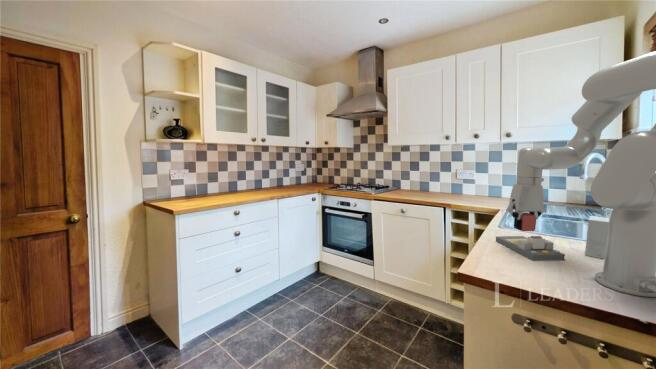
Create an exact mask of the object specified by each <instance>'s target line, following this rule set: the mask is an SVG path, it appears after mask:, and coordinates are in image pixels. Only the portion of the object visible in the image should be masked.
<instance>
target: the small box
mask: <svg viewBox="0 0 656 369" xmlns="http://www.w3.org/2000/svg"><path fill="white" fill-rule="evenodd" d="M609 219H610V217H604V216H603V217H601V216H595V215H590V216H589V218H588V221H587V222H588V223H587V232H586V242H585V243H586V244H585V251H584V252H585V253H584V256H587V257H593V258H597V259H602V260H605V251H606V242H607V234H608V226H609Z"/></svg>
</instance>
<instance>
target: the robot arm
mask: <svg viewBox="0 0 656 369" xmlns="http://www.w3.org/2000/svg"><path fill="white" fill-rule="evenodd" d="M653 90H656V50H655V51H651V52H647V53H645V54H642V55H639V56H637V57H633V58H632V59H628V60H625V61H622V62H619V63H616V64H613V65H611V66H608V67H606V68H603V69H601V70H598V71H596V72H594V73H593V74H591V76H589V77H588V78H587V79H586V80H585V81H584V83H583V84H582V88H581V95H582V98H583V99H584V100H586V101H584V103H583V104H582V105H581V106H580V107H579V108H578V110H576V111H575V113H573V115H572V116H571V122H572V124H573V125H574V126H575V127H576V128H577V129H576V133H575V134H574V136H573V137H572V138H571V139H570V140H569V141H568V142H567V144H565V145H564V146H552V147H551V146H550V147H523V148H521V149H519V151H518V158H517V159H518V160H517V170H516V179H515V180H516V181H515V184H513V185H512V188H511V192H510V196H509V204H508V207H507V209H506V212H507V213H508V214H510V216H512V218H514V219H513V228H514V229H516V230H518V231H521V228H522V220H521V217H522V214H523V213H530V214H533V215H536V222H535V227H536V225H537V220H538V219H539V217H540V216H541V215H542V214H544V213H546V211H547V209H546V207H545V206H544V202H545V201H544V198H545V196H544V195H545V194H544V188H543V185H542V182H544V181H545V179H544V178H543V170H545V171H547V170H550V171H551V170H565V169H570V168H573V167H576V166H577V165H578V164H580V163H581V162H582V161H584V159H585V158H587V157H588V156H589V155H590V154H591V153H592V152H594V150H595V148H596V147H597V145H598V143H599V141H600V139H601V136H602V132H603V131H604V130H605V129H606V128H607V127H608V126H609V125H610V124H611V123H612V122H614V120H615V119H616V118H617V117H619V115H621V114H622V113H623V112H624V111H625V110H626V109H627V108H628V107H629V106H630V105H631V104H632V103H634V102H635V101H636V100H637V98H639V97H640V96H641V95H642V93H644V92H648V91H653ZM590 196H591V197H592V200H593V201H594V202H595V203H596V204H597V205H599V207H600V206H601V207H603V208H604V209H605V208H606V209H609V210H612V211H611V212H610V216H609V218H610V219H609V226H608V234H607V242H606V251H605V259H603V260H604V261H603V270H602V271H598V272H597V273H596V272H595V274H594V279H595V281H596V282H598V283H599V284H601V285H603V286H605V287H607V288H609V289H612V290H615V291H618V292H621V293H625V294H629V295H632V296H638V297H639V296H640V297H645V298H646V297H647V298H656V123H655V124H654V125H653V126H652V127H651V129H650V130H641V131H635V132H633V133H630V134H627V135H626V136H624V137H622V138H621V139H619V141H618V142H617V143H615V145H613V147H612V148H611V150H610V152H609V153H608V155H607V156H606V158H605V160H604V162H603V163H602V165H601V166H600V168H599V170H598V172H597V173H596V175H595V176H594V178H593V181H592V183H591V186H590Z"/></svg>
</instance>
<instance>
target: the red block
mask: <svg viewBox="0 0 656 369" xmlns="http://www.w3.org/2000/svg"><path fill="white" fill-rule="evenodd" d="M521 220H522V228H521V230H520V231H521V232H535V231H536V226H535V222H536V223H537V220H536V215H533V214H530V213H529V212H523V214H522V217H521Z"/></svg>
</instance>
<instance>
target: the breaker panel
mask: <svg viewBox="0 0 656 369" xmlns="http://www.w3.org/2000/svg"><path fill="white" fill-rule="evenodd" d="M527 238H528V237H526V236H524V235H514V236H513V235H509V236H508V235H507V236H505V235H504V236H503V235H502V236H501V235H500V236H495V242H497V243H498V244H500V245H502V246H504V247H506V248H508V249H509V250H511V251H514V252H515V253H517V254H519V255H521V256H523V257H525V258H527V259H528V260H531V261H532V262H533V261H534V262H535V261H564V260H565V258H566V257H565V255H566V254H564V253H563V252H561V251H560V250H557V249H554V242H552V241H550V240H548V239H545V245H544V249H532V248H531V243H530V242H527Z"/></svg>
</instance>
